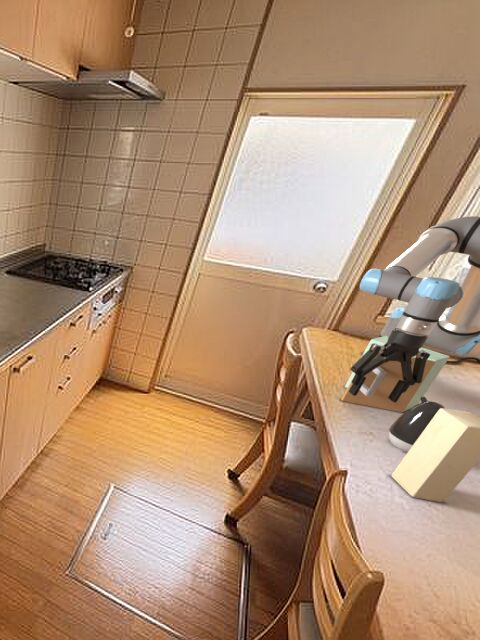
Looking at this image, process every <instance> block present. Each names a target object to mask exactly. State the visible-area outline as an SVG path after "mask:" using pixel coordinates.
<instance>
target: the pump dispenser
mask: <svg viewBox="0 0 480 640" xmlns="http://www.w3.org/2000/svg"><path fill="white" fill-rule="evenodd" d="M420 399H421V401H420V402H419V404H418V405H416V406H414V407H412V408H411V409H408V410H406V411H404V412H403V413H402V415H400V416H398V418H397V419H396V420H395V421H394V422H393V423H392V424H391V425H390V427H389V428H388V439H389V441H390V442H391V444H392V445H393V446H394V447H396V448H397V449H399V450H401V451H402V452H405V453H408V452H409V450H410V449H411V447H412V446H413V445H414V443H415V442H416V441H417V439H418V438H419V436H420V435H421V434H422V432H423V431H424V430H425V428H426V427H427V425H428V424H429V423H430V421H431V420H432V419H433V417H434V416H435V414H436V413H437V412H438V410H439V409H440V408H444V409H446V407H445V406H444V405H443V404H441V403H440V402H437V401H431V400H429V401H428V399H427V398H426V396H423V397H421V398H420Z"/></svg>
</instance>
